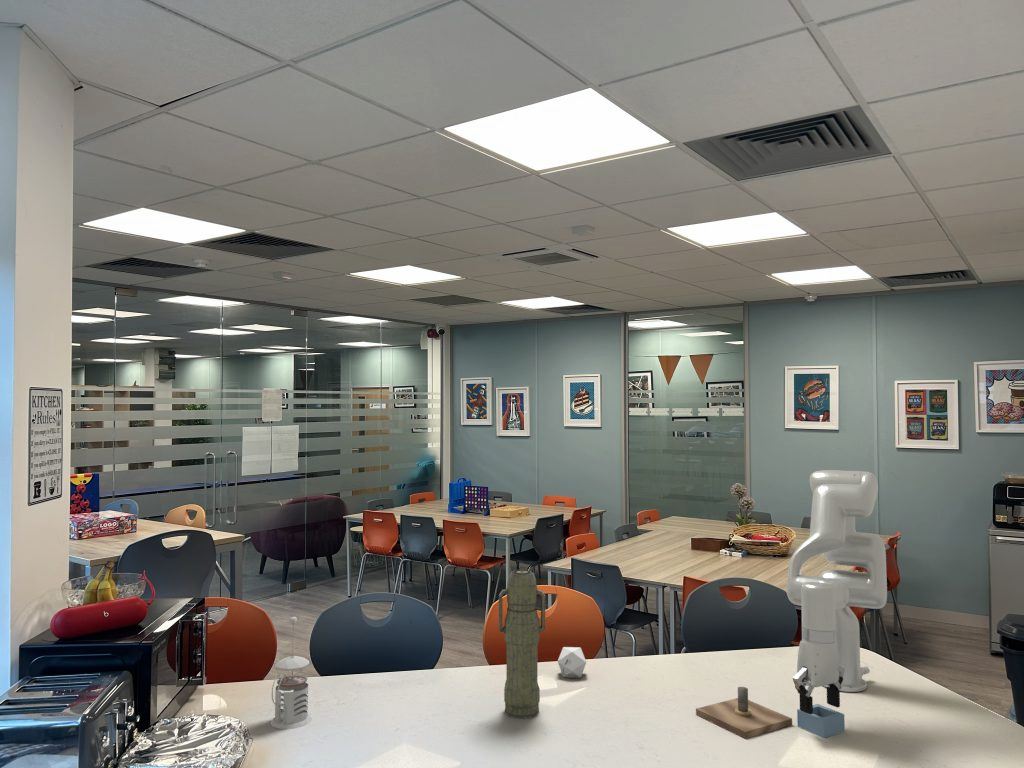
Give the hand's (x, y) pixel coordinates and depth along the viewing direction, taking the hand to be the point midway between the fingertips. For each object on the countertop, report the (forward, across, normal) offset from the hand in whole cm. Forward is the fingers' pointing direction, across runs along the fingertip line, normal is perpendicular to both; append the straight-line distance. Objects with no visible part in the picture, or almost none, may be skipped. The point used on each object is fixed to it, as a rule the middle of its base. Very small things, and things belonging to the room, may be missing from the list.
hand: (820, 708), depth 173 cm
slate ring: (+5, -1, 0) cm, 5 cm away
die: (+5, +30, -60) cm, 68 cm away
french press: (+7, +109, -66) cm, 128 cm away
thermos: (+6, +56, -44) cm, 72 cm away
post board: (+5, +11, -13) cm, 18 cm away
